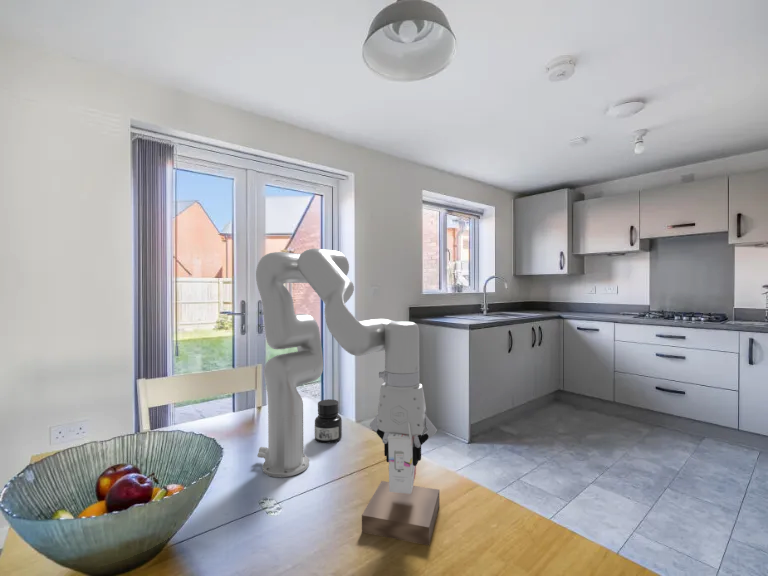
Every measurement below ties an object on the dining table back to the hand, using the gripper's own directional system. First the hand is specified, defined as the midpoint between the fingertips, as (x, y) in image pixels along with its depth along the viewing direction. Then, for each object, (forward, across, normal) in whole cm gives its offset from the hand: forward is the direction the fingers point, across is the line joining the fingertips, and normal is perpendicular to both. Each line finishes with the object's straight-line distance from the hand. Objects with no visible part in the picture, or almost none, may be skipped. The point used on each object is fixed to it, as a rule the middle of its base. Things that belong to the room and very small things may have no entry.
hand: (402, 460), depth 82 cm
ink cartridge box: (+5, 0, 0) cm, 5 cm away
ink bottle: (+13, -34, +34) cm, 50 cm away
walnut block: (+13, 0, 0) cm, 13 cm away
